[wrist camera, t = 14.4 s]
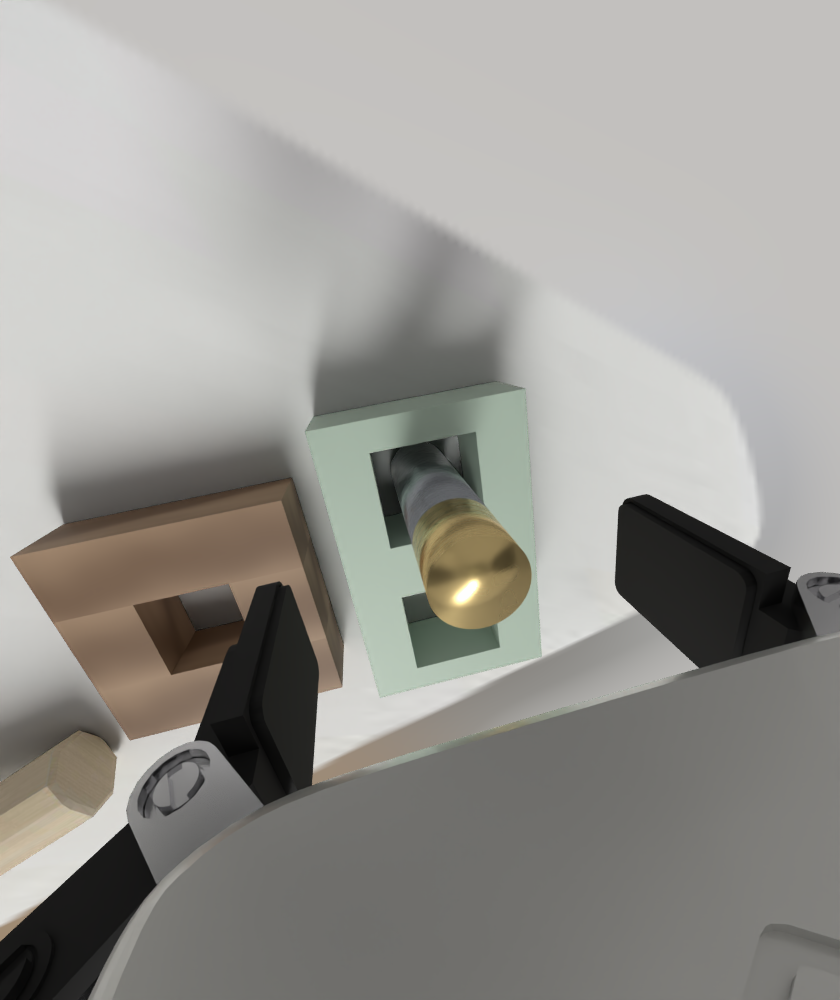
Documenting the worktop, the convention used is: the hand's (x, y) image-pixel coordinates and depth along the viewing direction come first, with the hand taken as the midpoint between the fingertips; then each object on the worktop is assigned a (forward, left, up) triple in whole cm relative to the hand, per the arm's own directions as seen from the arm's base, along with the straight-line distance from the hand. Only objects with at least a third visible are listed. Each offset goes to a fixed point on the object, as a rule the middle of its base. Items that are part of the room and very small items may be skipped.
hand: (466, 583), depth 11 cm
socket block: (+6, -12, -13) cm, 19 cm away
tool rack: (+5, +1, -13) cm, 13 cm away
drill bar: (+1, +1, -13) cm, 13 cm away
